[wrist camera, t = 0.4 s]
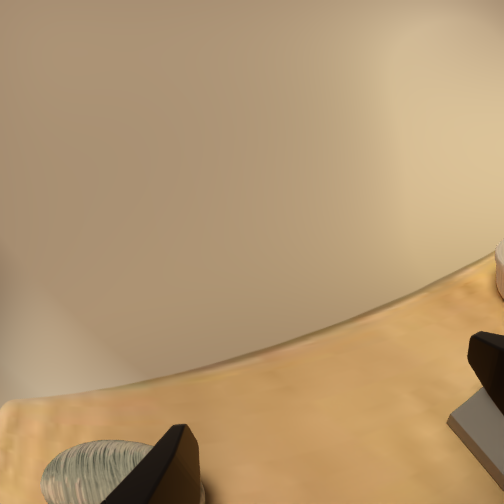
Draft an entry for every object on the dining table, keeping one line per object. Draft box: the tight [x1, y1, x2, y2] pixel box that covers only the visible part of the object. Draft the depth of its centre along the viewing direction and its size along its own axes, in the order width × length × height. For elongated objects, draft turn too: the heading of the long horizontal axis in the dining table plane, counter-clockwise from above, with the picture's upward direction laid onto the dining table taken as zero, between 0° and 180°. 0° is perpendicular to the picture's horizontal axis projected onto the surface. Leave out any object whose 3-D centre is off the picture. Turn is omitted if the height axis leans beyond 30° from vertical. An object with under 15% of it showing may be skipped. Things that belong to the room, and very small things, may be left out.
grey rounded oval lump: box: [40, 440, 205, 504], centre depth 15 cm, size 14×10×10 cm
